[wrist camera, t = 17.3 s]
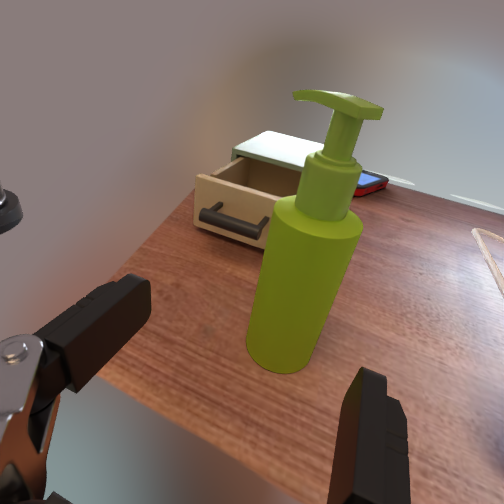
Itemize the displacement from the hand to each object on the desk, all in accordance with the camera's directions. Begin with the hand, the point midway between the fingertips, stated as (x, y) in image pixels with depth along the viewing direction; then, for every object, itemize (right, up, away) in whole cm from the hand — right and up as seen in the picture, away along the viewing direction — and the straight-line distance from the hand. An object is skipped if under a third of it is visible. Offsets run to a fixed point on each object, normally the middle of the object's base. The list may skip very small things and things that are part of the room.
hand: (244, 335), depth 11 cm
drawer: (+1, +7, +32) cm, 33 cm away
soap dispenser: (+2, -5, +17) cm, 18 cm away
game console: (+22, +18, +57) cm, 63 cm away
